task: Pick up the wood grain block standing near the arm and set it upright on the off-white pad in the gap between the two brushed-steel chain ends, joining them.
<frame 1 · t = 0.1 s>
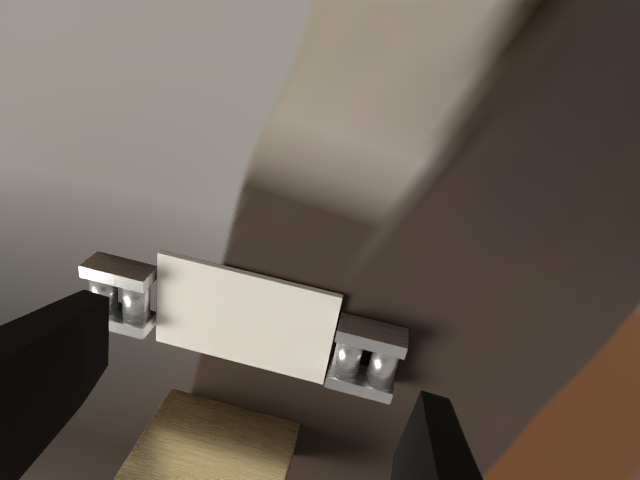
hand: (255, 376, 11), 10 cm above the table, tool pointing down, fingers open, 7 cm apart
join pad: (245, 317, 23), on the table
chain ends: (245, 317, 23), on the table
wood grain block: (233, 421, 27), on the table
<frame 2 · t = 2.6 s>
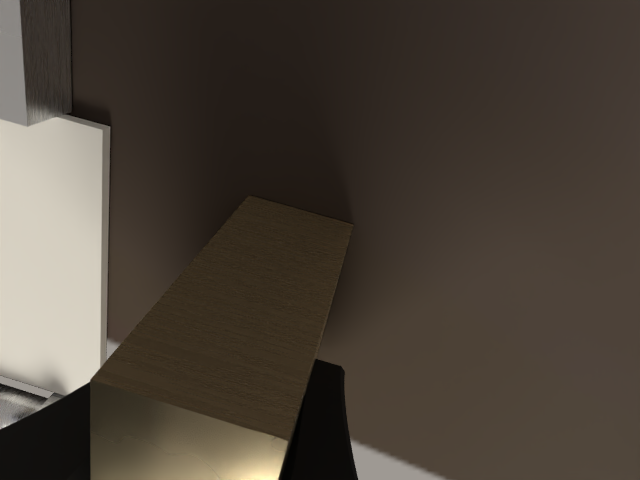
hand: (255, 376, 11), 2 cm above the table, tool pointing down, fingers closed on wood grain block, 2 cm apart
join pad: (18, 257, 13), on the table
chain ends: (18, 257, 13), on the table
wood grain block: (274, 332, 13), on the table, touching gripper
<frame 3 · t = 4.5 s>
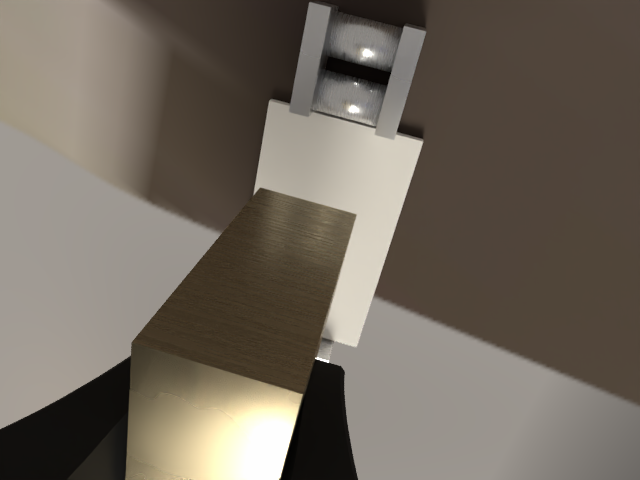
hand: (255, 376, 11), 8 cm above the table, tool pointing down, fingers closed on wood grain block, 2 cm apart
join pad: (318, 233, 18), on the table
chain ends: (318, 233, 18), on the table
wood grain block: (282, 316, 14), point 5 cm above the table, touching gripper
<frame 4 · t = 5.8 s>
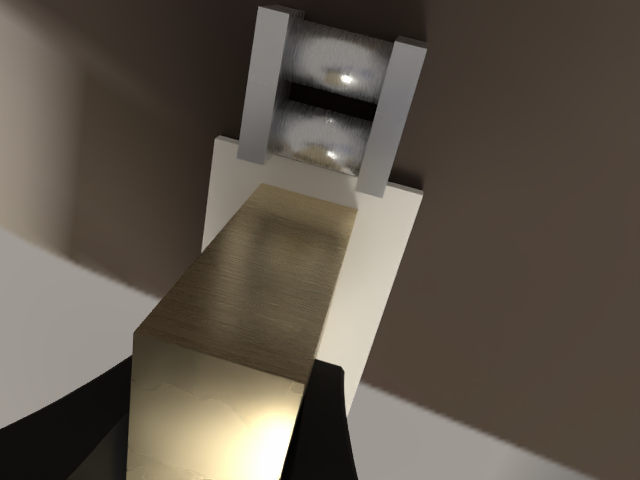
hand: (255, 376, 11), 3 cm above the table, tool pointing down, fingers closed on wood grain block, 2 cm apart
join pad: (287, 304, 14), on the table
chain ends: (287, 304, 14), on the table
wood grain block: (283, 312, 14), resting on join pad, touching gripper
when the fingers open (3 cm above the table, at t = 6.2 s): wood grain block stays where it is, resting on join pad.
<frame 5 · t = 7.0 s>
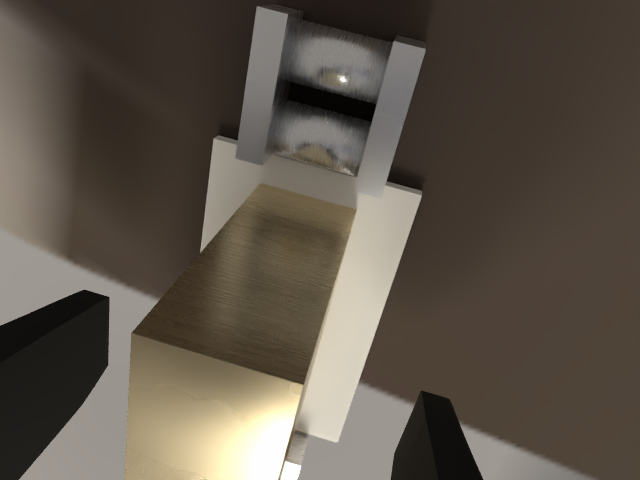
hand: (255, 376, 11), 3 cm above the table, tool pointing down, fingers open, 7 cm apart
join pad: (286, 304, 14), on the table
chain ends: (286, 304, 14), on the table
wood grain block: (282, 312, 14), resting on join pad
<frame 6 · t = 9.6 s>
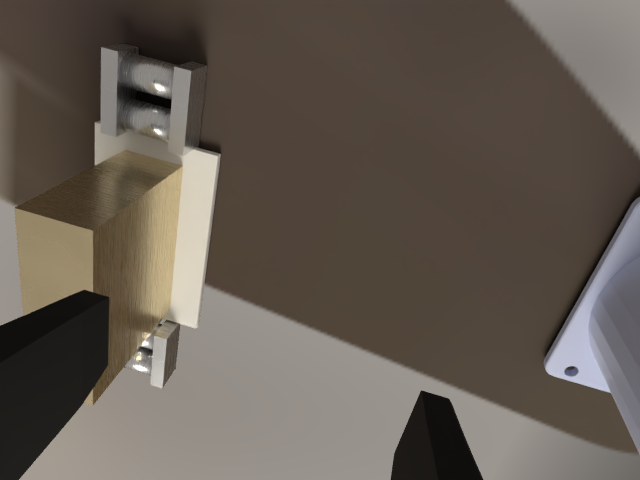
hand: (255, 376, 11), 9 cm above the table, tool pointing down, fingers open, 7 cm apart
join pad: (153, 231, 21), on the table
chain ends: (153, 231, 21), on the table
wood grain block: (149, 235, 21), resting on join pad
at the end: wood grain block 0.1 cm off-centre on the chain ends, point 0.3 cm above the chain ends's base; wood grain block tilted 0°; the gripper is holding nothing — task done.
